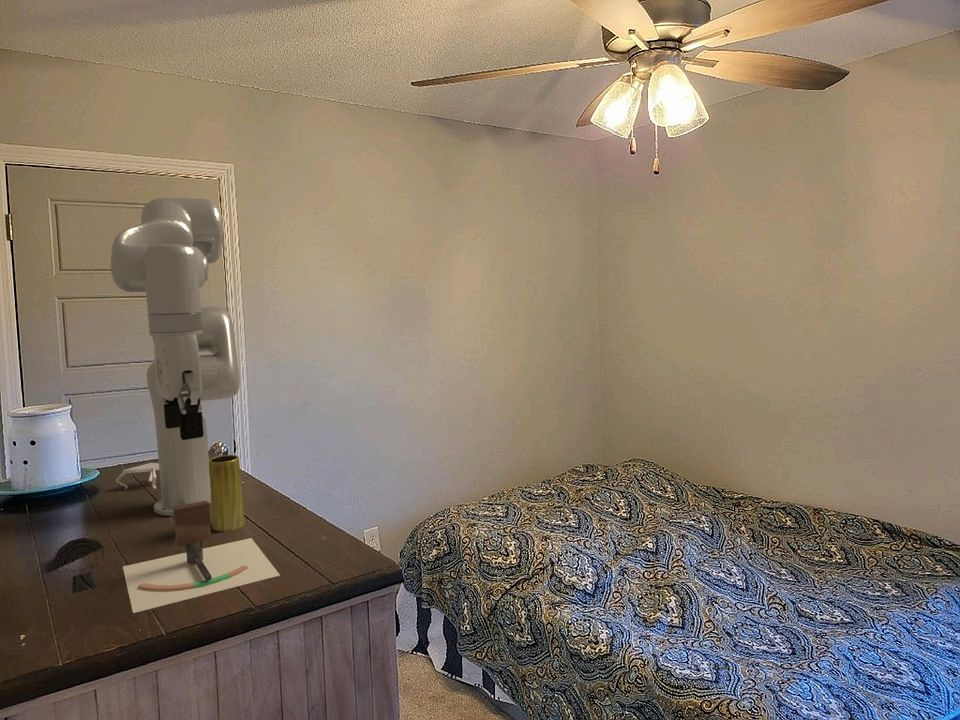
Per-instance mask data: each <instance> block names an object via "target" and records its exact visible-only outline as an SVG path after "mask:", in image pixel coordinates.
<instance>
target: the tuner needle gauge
mask: <svg viewBox="0 0 960 720" xmlns="http://www.w3.org/2000/svg"><path fill="white" fill-rule="evenodd" d="M173 514H174V515H173V524H174V525H173V526H174V534H175V535H174V537H175V538H174V539H175V545H176V546H177V547H182V546H185V553H186V554H187V562H188V563H195V564H196V565H197V567H198V569H199V570H200V572H201V574H202V575H203V577H204V579H205V580H206V581H208V580H212V578H211V574H210V573H209V571H208V570H207V568H206V566H205V565H204V563H203V562H202V560H203V549H204V548H203V542H206V541H209V540H212V529H211V528H212V526H211V516H210V503H208V502H207V501H201V502H196V503H191V504H185V505H180V506H175V507H173Z"/></svg>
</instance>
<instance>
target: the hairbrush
mask: <svg viewBox="0 0 960 720" xmlns="http://www.w3.org/2000/svg"><path fill="white" fill-rule="evenodd" d="M80 535H81V537H80V536H78V534H76V535H75V537H78V538H77V539H73V538H72V536H70V537H68V539H70V538H71V539H72V540H68V541H67V542H66V543H65V544H64V543H63V541H62V542H61V544H63V545H61V547H60V548H57V547H56V548H55V550H57V552H56V551H54V554H53V556H54V557H52V558H51V570H50V571H51V572H54V571H57V572H59V573H63V571H64V573H65V574H66V573H67V571H69V569H68V568H65V569H64V566H66V565H70V564H71V563H75V562H76V561H77V560H80V559H82V558H83V562H85V558H84V557H86V556H89V557H88V558H89V559H91V556H90V555H91V554H93V553H94V554H95V557H96V558H95V561H97V560H98V559H97V558H98V557H97V553H96V552H98V551H99V550H102V558H104V555H105V554H104V550H103V548H105V547H104V545H103V544H102V543H101V542H100V541H99V540H96V539H95V537H93V538H87V537H83V534H80ZM85 536H88V534H85ZM65 540H67V537H66V538H65ZM88 562H90V560H88ZM94 565H95V566H99V562H98V563H96V564H94V563H92V565H91V564H90V565H89V568H94V567H95V566H94ZM80 566H81V569H80V570H79V571H78V572H80V574H77V575H74V576H73V578H75V585H74V587H73V592H72V594H76V593H80V592H85V591H88V590H92V589H96V588H97V586H96V584H95V583H94V581H93V580H92V576H91V574H92V573H93V572H92V571H89V572H85V571H87V570H86V569H87V567H86V566H85V568H83V567H82V565H80ZM75 567H77V565H75ZM58 568H59V569H60V568H63V569H64V570H63V571H61V570H58ZM65 570H66V571H65ZM84 570H85V571H84ZM70 571H72V573H73V574H75V571H77V570H76V569H75V570H74V569H70ZM81 571H84V573H81Z"/></svg>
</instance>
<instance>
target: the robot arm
mask: <svg viewBox="0 0 960 720" xmlns="http://www.w3.org/2000/svg"><path fill="white" fill-rule="evenodd" d="M140 219H141V223H140V224H137V225H134V226H132V227H129V228H127V229H124V230H122V231H120V232H119V233H118V234H117V235H116V236H115V237H114V240H113V241H112V246H111V255H110V273H111V276H112V280H113V282H114V284H115V285H116V286H117V287H118V288H119V290H121V291H125V292H128V293H145V294H146V296H145V297H146V307H147V309H146V310H147V322H148V331H149V332H148V333H149V336H151V337H152V342H153V345H154V361H153V362H152V363H150V365H149V366H148V368H147V370H146V383H147V384H146V385H147V387H148V392H149V396H150V399H151V403H152V410H153V416H154V424H155V425H154V426H155V436H156V445H157V446H156V447H157V459H158V463H159V470H158V471H159V482H160V492H161V493H160V495H161V496H160V497H161V499H159V500H158V501H156V502H155V503H154V504H153V511H154V513H156V514H158V515H160V516H167V517H168V516H169V517H172V516H173V517H174V514H173V507H175V506H180V505H185V504H191V503H196V502H201V501H207V502H208V503H209V504H211V488H210V475H209V460H210V457H209V456H210V455H209V445H208V431H207V423H206V419H205V418H204V416H203V412H202V411H203V409H202V403H201V402H204V401H213V400H224V399H229V398H233V397H234V396H236V395H237V394H238V392H239V390H240V384H241V383H240V369H239V359H238V353H237V343H236V337H235V336H236V335H235V328H234V323H233V320H232V317H231V315H230V313H229V311H228V310H226V309H225V308H223V307H219V306H201V293H200V290H201V288H202V287H204V286H205V284H206V282H207V281H208V279H209V275H210V273H209V272H210V269H209V267H210V266H209V264H213V263H214V264H215V263H216V262H217V261H218V260H220V257H221V255H222V247H223V239H224V238H223V236H224V220H223V215H222V212H221V210H220V208H219V207H218V205H217V204H216V203H215V202H214V201H211V200H209V199H205V198H183V197H180V198H179V197H159V198H155V199H152V200H150V201H148V202H147V203H146V204H145V205H144V206H143V208H142V211H141V215H140ZM202 352H210V353H212V354H200V353H202Z"/></svg>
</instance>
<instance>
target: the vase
mask: <svg viewBox="0 0 960 720" xmlns="http://www.w3.org/2000/svg"><path fill="white" fill-rule="evenodd" d="M209 475H210V488H211V503H210V505H211V506H210V507H211V528H212V529H211V531H212V530H213V531H216V532H229V531H234V530H238V529H241V528H242V527H243V526H245V515H244V513H245V512H244V511H245V509H244V501H243V491H242V490H243V487H242V477H241V465H240V457H239V456H238V455H235V454H223V455H218V456H214V457H211V458H209Z"/></svg>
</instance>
